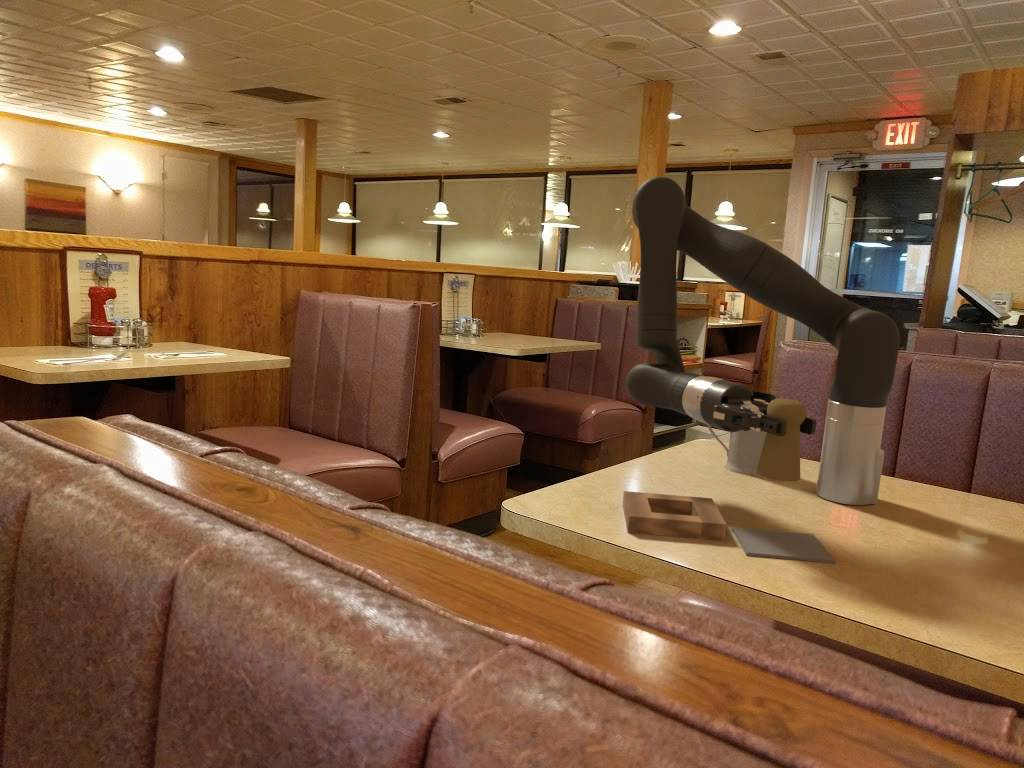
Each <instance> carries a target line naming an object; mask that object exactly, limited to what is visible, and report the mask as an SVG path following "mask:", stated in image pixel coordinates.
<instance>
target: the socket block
mask: <svg viewBox="0 0 1024 768" xmlns="http://www.w3.org/2000/svg"><path fill="white" fill-rule="evenodd" d="M622 510H623V516H624V519H625V520H624V521H625V525H626V526H625V527H626V530H627V533H632V534H644V535H656V536H664V537H665V536H666V537H678V538H691V539H700V538H701V540H711V539H712V540H713V541H722V540H724V541H723V542H725V541H726V532H727V523H726V521H725V519H724V517H723V515H722V514H721V512H720V511H719V510H720V509H719V508H718V507H717V504H716V502H715V501H714V500H713V498H712V497H711V498H709V497H701V496H687V495H677V494H664V493H663V494H662V493H653V492H652V493H651V492H639V491H630V490H629V491H627V490H624V491H623V498H622Z"/></svg>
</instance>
